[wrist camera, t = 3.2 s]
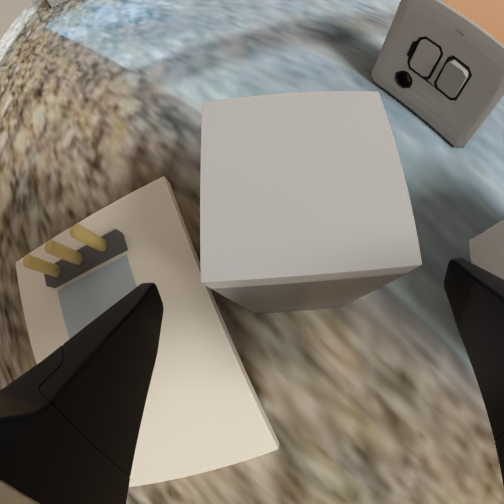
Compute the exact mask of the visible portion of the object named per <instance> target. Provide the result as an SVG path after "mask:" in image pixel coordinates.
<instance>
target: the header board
mask: <svg viewBox="0 0 504 504" xmlns="http://www.w3.org/2000/svg"><path fill="white" fill-rule="evenodd" d="M15 264H16V271H17V278H18V285H19V291H20V296H21V302H22V307H23V312H24V317H25V321H26V326H27V330H28V334H29V338H30V342H31V346H32V350H33V354H34V357H35V361H36V364H38V363H40V362H41V361H43V360H44V359H45V358H46V357H48V356H49V355H50V354H51V353H53V352H54V351H55V350H56V349H58V348H59V347H60V346H61V345H63V344H64V343H65V342H67V341H68V340H69V339H70V338H72V337H73V336H74V335H75V334H77V333H78V332H79V331H80V330H82V329H83V328H84V327H85V326H87V325H88V324H89V323H91V322H92V321H93V320H94V319H96V318H97V317H98V316H100V315H101V314H102V313H103V312H105V311H106V310H107V309H109V308H110V307H111V306H113V305H114V304H115V303H116V302H118V301H119V300H120V299H122V298H123V297H124V296H126V295H127V294H128V293H130V292H131V291H132V290H134V289H135V288H136V287H138V286H139V285H140V284H142V283H155V284H156V286H157V288H158V291H159V294H160V297H161V300H162V303H163V308H164V310H163V318H162V324H161V332H160V339H159V346H158V352H157V357H156V361H155V365H154V369H153V373H152V377H151V382H150V386H149V390H148V394H147V399H146V403H145V407H144V412H143V416H142V421H141V425H140V430H139V435H138V440H137V444H136V449H135V454H134V459H133V465H132V470H131V475H130V482H129V487H133V486H140V485H146V484H152V483H158V482H163V481H168V480H173V479H178V478H182V477H187V476H191V475H195V474H199V473H203V472H207V471H211V470H215V469H218V468H222V467H226V466H229V465H232V464H236V463H239V462H242V461H245V460H249V459H252V458H255V457H258V456H261V455H264V454H266V453H269V452H272V451H275V450H278V449H279V441H278V439H277V437H276V435H275V433H274V431H273V429H272V427H271V425H270V423H269V421H268V418H267V416H266V414H265V412H264V410H263V408H262V406H261V404H260V401H259V399H258V397H257V395H256V393H255V391H254V388H253V386H252V384H251V382H250V380H249V377H248V375H247V373H246V371H245V368H244V366H243V364H242V362H241V359H240V357H239V355H238V353H237V350H236V348H235V346H234V344H233V341H232V339H231V337H230V334H229V332H228V330H227V327H226V325H225V323H224V320H223V318H222V315H221V313H220V311H219V308H218V306H217V303H216V301H215V299H214V296H213V294H212V291H211V289H210V288H209V287H207V286H206V285H204V284H202V283H201V267H200V262H199V259H198V256H197V254H196V251H195V249H194V246H193V244H192V241H191V238H190V236H189V233H188V231H187V228H186V225H185V223H184V220H183V217H182V215H181V212H180V209H179V207H178V204H177V201H176V199H175V196H174V193H173V190H172V188H171V185H170V183H169V182H168V180H167V179H166V178H165V176H163V177H161V178H159V179H157V180H155V181H153V182H151V183H149V184H147V185H145V186H143V187H141V188H139V189H137V190H135V191H133V192H132V193H130V194H128V195H126V196H124V197H122V198H120V199H119V200H117V201H115V202H113V203H111V204H109V205H108V206H106V207H104V208H102V209H101V210H99V211H97V212H95V213H94V214H92V215H90V216H88V217H87V218H85V219H83V220H81V221H80V222H78V223H76V224H74V225H73V226H71V227H70V228H68V229H66V230H65V231H63V232H62V233H60V234H58V235H57V236H55V237H54V238H52V239H50V240H48V241H47V242H46V243H44V244H42V245H41V246H39V247H38V248H36V249H35V250H33V251H32V252H30V253H29V254H27V255H26V256H24V257H23V258H21V259H20V260H18V261H17V262H15Z"/></svg>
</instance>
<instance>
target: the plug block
mask: <svg viewBox="0 0 504 504" xmlns="http://www.w3.org/2000/svg"><path fill="white" fill-rule="evenodd" d="M421 265H422V260H421V253H420V247H419V241H418V236H417V230H416V225H415V220H414V215H413V210H412V206H411V201H410V197H409V192H408V188H407V184H406V180H405V176H404V172H403V168H402V165H401V161H400V157H399V154H398V150H397V147H396V143H395V140H394V137H393V133H392V130H391V127H390V124H389V121H388V118H387V115H386V112H385V109H384V106H383V103H382V100H381V97H380V94H379V92H372V91H322V92H298V93H282V94H269V95H258V96H248V97H239V98H231V99H223V100H216V101H209V102H203V106H202V132H201V172H200V267H201V283H202V284H204V285H206V286H207V287H209V288H211V289H213V290H214V291H216V292H218V293H219V294H221V295H223V296H225V297H226V298H228V299H230V300H231V301H233V302H235V303H237V304H238V305H240V306H242V307H244V308H245V309H247V310H249V311H251V312H252V313H254V314H258V313H273V312H288V311H301V310H313V309H325V308H335V307H341V306H343V305H345V304H348V303H350V302H352V301H354V300H356V299H358V298H360V297H362V296H364V295H366V294H368V293H370V292H372V291H374V290H376V289H378V288H380V287H382V286H383V285H385V284H387V283H389V282H391V281H393V280H395V279H397V278H399V277H401V276H402V275H404V274H406V273H408V272H410V271H412V270H414V269H415V268H417V267H419V266H421Z"/></svg>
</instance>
